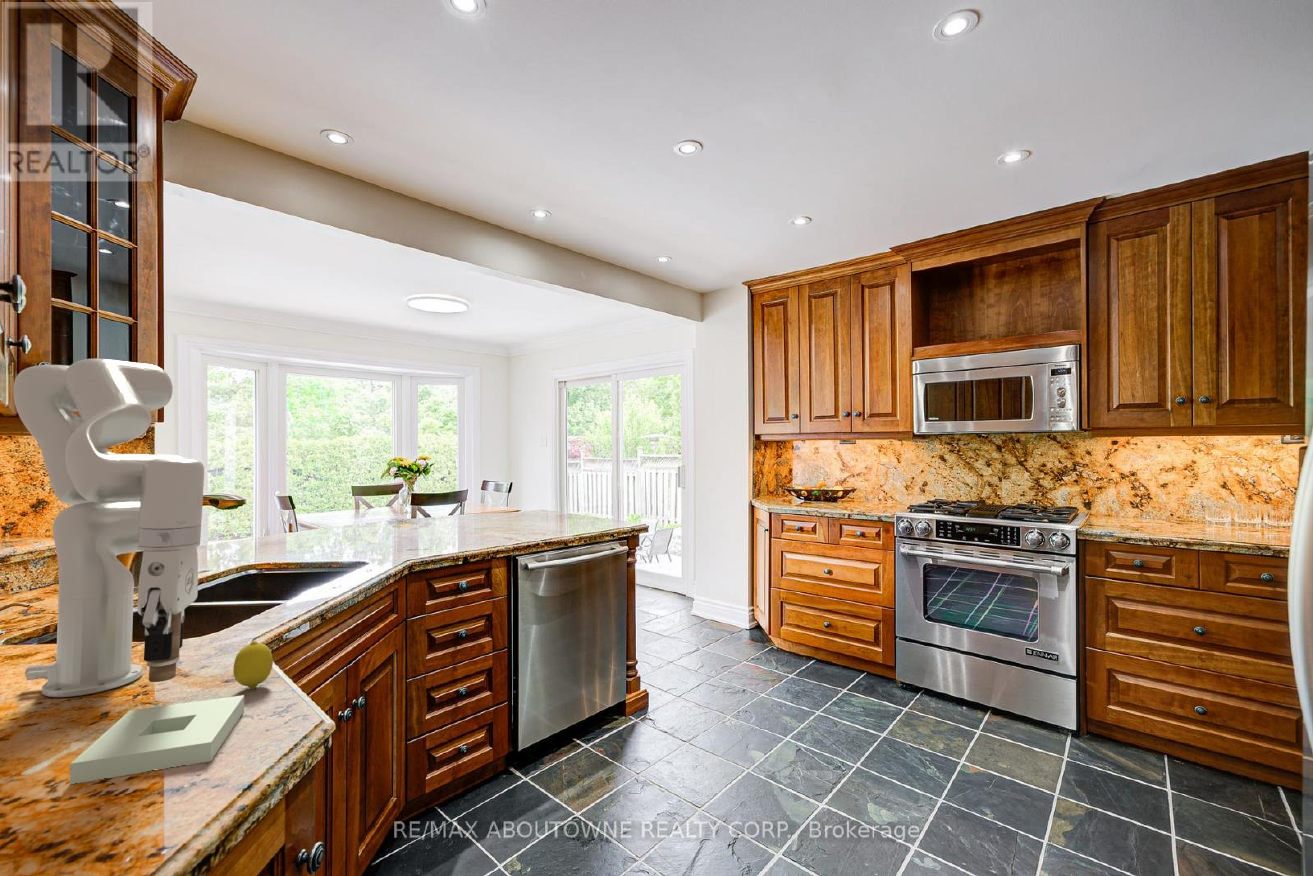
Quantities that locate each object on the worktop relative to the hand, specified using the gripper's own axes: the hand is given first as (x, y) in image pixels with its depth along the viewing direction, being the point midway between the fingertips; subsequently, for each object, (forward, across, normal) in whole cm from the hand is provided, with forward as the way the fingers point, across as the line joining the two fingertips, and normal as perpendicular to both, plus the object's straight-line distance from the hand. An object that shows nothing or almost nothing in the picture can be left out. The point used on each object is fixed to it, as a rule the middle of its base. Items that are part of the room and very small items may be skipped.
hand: (163, 653), depth 90 cm
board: (+8, -13, -5) cm, 16 cm away
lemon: (+9, +5, -11) cm, 15 cm away
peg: (+4, 0, 0) cm, 4 cm away
